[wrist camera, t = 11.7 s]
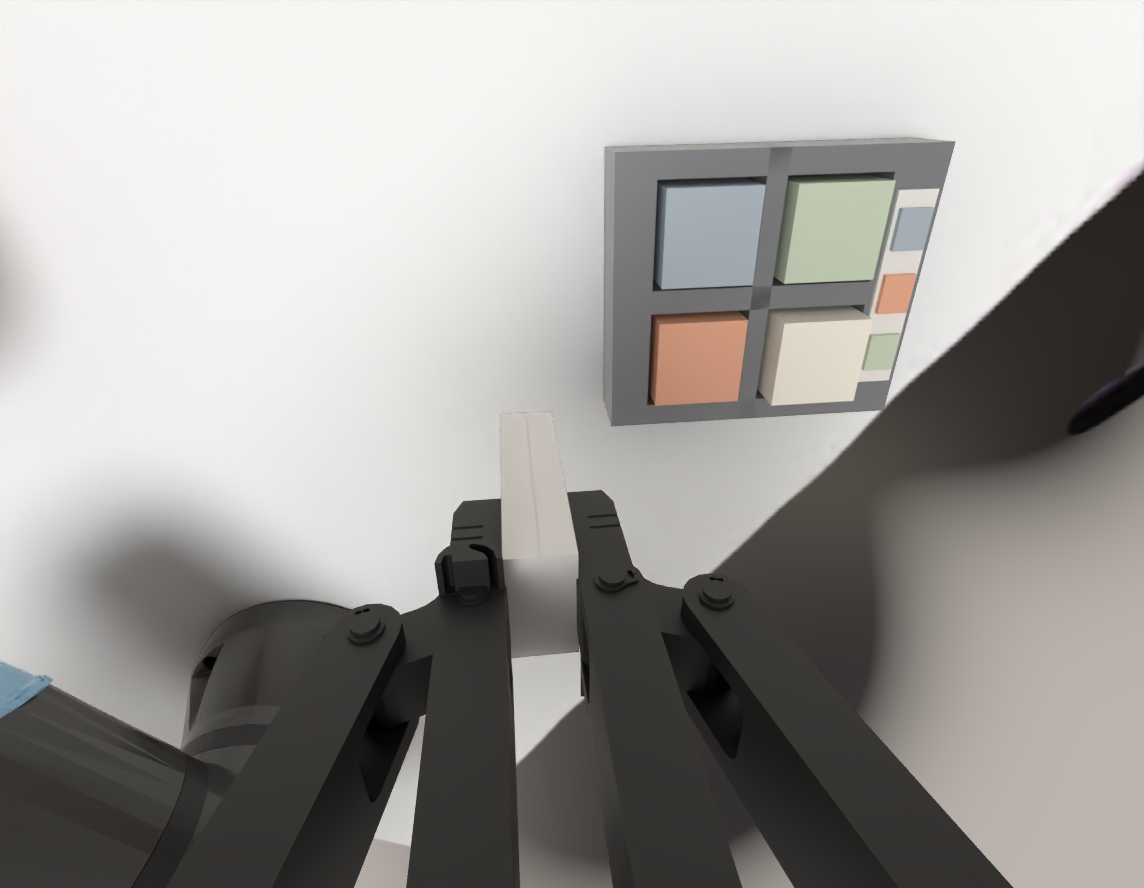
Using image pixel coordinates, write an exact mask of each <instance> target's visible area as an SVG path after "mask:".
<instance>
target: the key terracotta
mask: <svg viewBox="0 0 1144 888" xmlns="http://www.w3.org/2000/svg"><path fill="white" fill-rule="evenodd" d="M747 326H748V319H746V318H745V317H744V316H743V315H742V314H741V313H740V312H739V311H718V312H697V313H676V314H655V315H651V333H650V354H649V376H648V391H649V393H650V395H651V397H652V400H653V402H654V404H655V406H660V405H677V404H695V403H712V402H729V401H738V395H739V387H740V380H741V372H742V364H743V357H744V349H745V341H746V334H747Z"/></svg>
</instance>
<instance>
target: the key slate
mask: <svg viewBox="0 0 1144 888" xmlns="http://www.w3.org/2000/svg"><path fill="white" fill-rule="evenodd" d="M765 188H766V185H764V184H761V183H758V182H755V181H752V180H749V179H746V178H722V179H693V180H664V181H657V201H656V223H655V245H654V267H653V279H654V280H655V281H656V283H657V284H658V285H659V287H660V288H661V289H679V288H701V287H723V286H745V285H753V280H754V272H755V264H756V257H757V249H758V241H759V234H760V226H761V218H762V211H763V203H764V195H765Z"/></svg>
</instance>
